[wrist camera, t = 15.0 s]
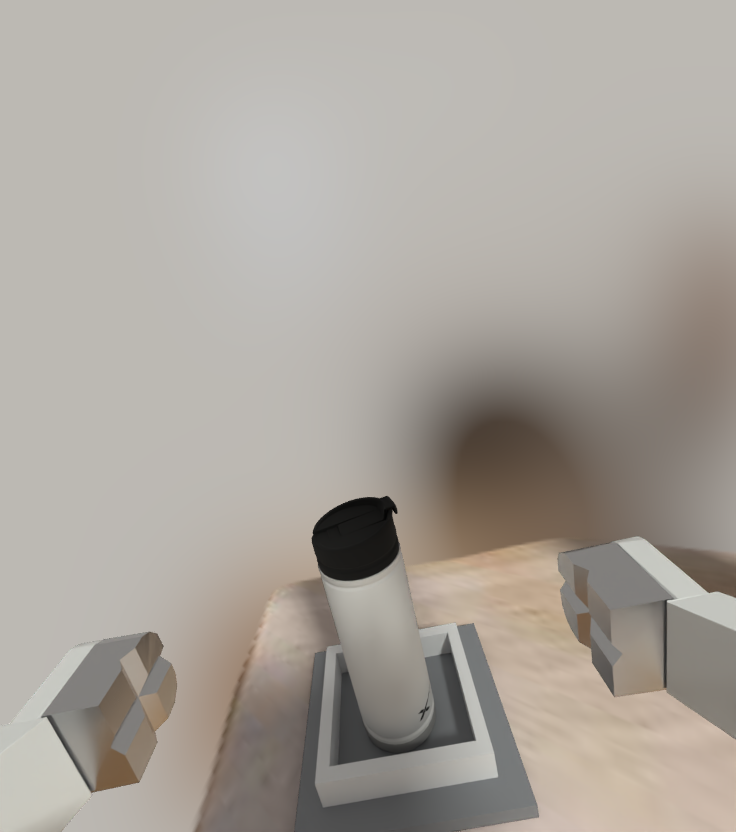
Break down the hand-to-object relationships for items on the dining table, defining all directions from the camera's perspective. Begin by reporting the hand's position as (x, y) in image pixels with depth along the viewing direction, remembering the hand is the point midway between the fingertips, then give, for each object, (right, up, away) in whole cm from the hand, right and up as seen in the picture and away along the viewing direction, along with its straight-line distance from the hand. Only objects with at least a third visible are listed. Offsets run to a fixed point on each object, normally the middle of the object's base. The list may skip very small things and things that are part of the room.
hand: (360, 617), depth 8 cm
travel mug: (+3, -22, +27) cm, 35 cm away
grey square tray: (+3, -23, +28) cm, 36 cm away
